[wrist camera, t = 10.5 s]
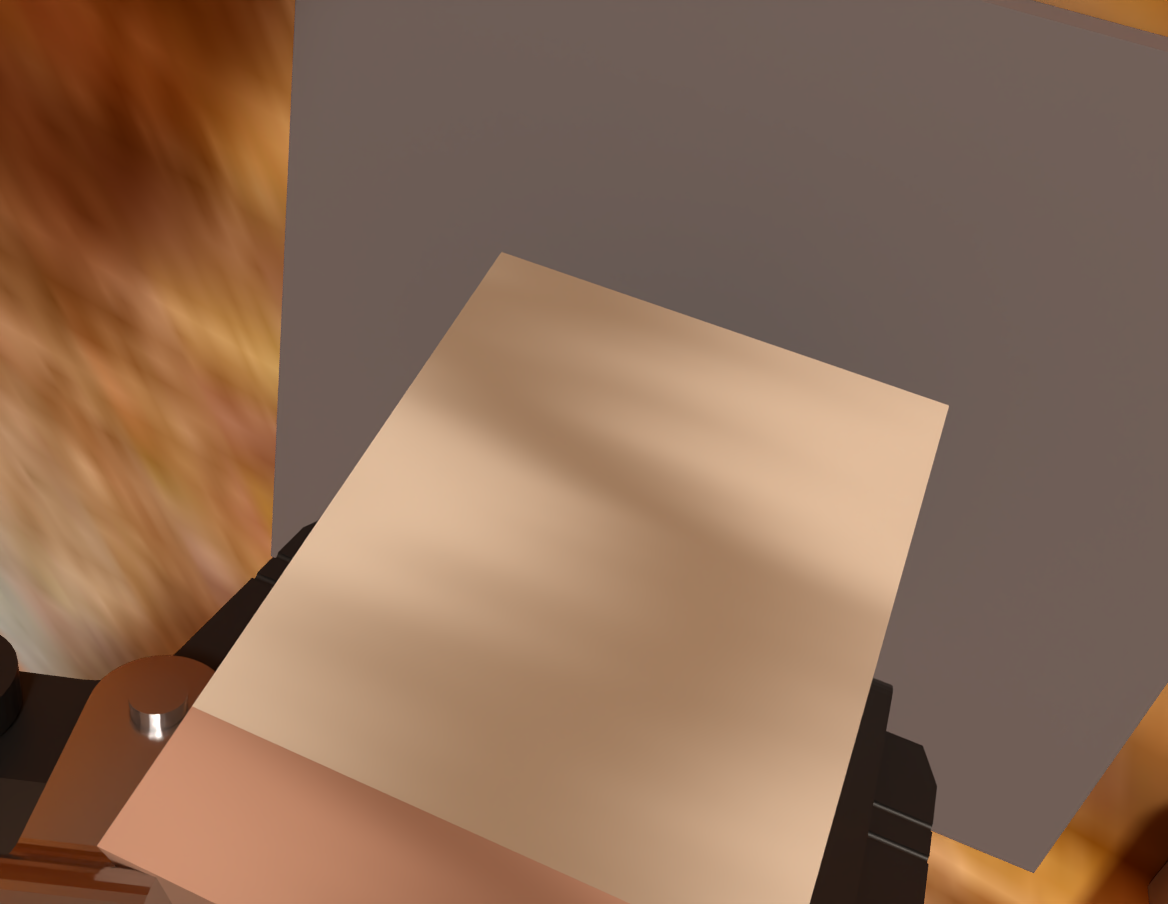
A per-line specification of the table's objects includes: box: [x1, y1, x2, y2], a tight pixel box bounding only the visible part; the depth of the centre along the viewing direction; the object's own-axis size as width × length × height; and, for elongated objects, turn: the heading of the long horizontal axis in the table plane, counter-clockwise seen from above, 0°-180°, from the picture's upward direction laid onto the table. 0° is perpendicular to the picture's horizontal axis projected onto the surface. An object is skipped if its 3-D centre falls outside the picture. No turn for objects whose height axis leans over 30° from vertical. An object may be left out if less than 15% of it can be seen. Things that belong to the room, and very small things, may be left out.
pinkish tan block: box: [97, 252, 949, 904], centre depth 12 cm, size 5×8×9 cm, turn 168°
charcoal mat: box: [271, 0, 1168, 873], centre depth 16 cm, size 14×12×1 cm
